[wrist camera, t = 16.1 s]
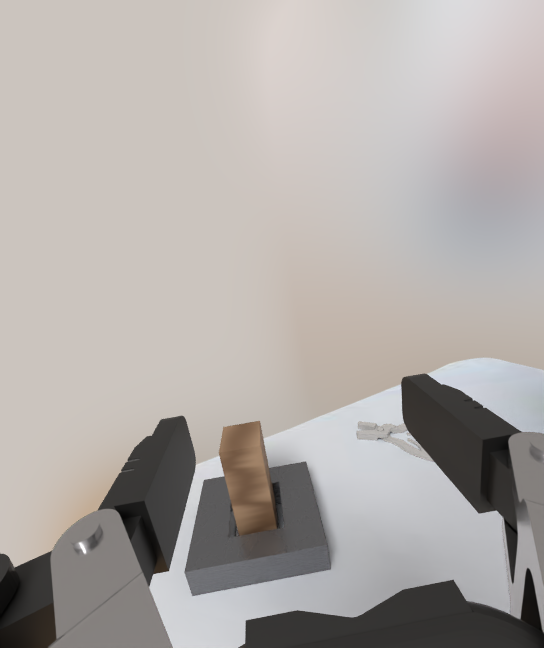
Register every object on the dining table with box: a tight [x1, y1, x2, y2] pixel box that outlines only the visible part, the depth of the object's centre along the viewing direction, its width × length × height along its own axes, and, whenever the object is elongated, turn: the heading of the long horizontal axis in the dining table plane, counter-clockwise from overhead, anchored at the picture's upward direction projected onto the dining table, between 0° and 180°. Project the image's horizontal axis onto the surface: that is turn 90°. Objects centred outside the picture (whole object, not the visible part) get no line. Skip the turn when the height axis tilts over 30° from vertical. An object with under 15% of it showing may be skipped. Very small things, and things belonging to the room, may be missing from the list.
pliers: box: [357, 421, 434, 462], centre depth 47 cm, size 10×2×15 cm
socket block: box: [185, 462, 330, 596], centre depth 35 cm, size 15×12×4 cm
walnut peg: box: [219, 421, 278, 536], centre depth 34 cm, size 4×4×14 cm
